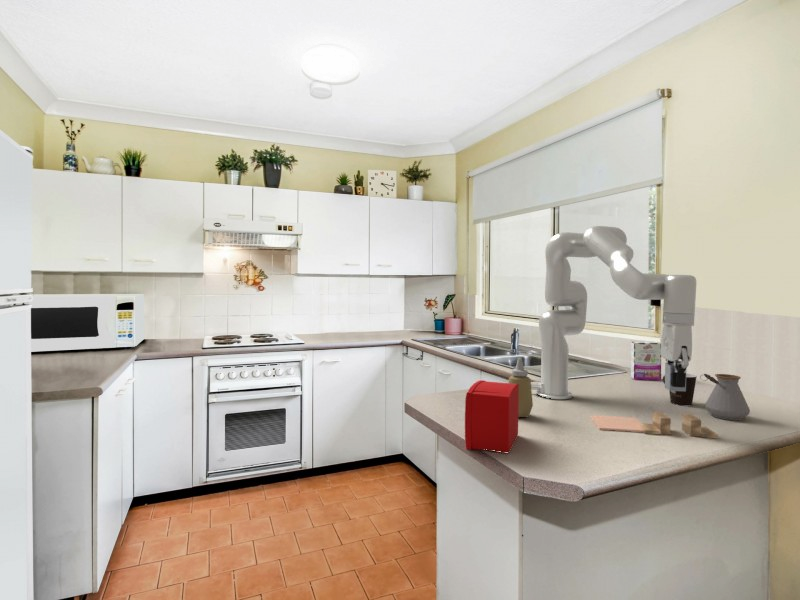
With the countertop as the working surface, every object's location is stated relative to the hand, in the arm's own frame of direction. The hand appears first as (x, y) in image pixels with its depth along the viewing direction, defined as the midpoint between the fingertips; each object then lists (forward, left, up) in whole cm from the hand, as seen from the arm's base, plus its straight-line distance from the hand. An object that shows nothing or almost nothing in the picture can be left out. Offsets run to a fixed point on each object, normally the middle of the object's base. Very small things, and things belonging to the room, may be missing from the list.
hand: (674, 384), depth 128 cm
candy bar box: (+15, +77, -14) cm, 80 cm away
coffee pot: (+18, +16, -14) cm, 28 cm away
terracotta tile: (-14, +3, -13) cm, 19 cm away
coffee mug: (+14, +36, -13) cm, 42 cm away
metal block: (0, 0, -1) cm, 1 cm away
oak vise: (0, -1, -13) cm, 13 cm away
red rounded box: (-50, -20, -14) cm, 55 cm away
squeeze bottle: (-42, +6, -13) cm, 44 cm away
